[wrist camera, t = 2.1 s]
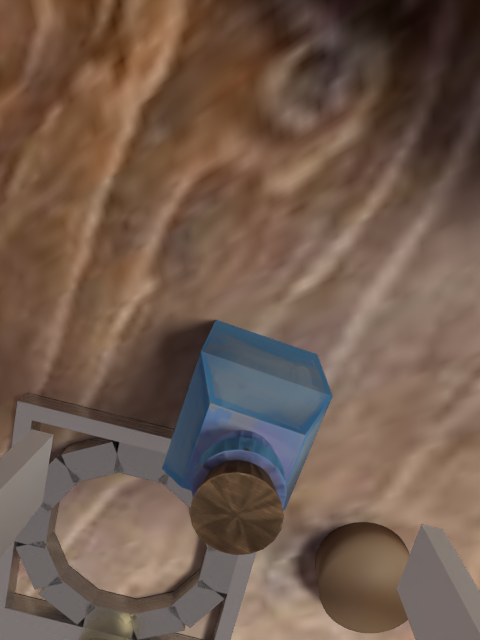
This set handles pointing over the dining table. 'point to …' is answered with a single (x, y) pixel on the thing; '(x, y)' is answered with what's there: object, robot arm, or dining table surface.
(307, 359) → the perfume bottle
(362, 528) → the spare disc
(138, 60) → the dining table surface
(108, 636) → the plate
